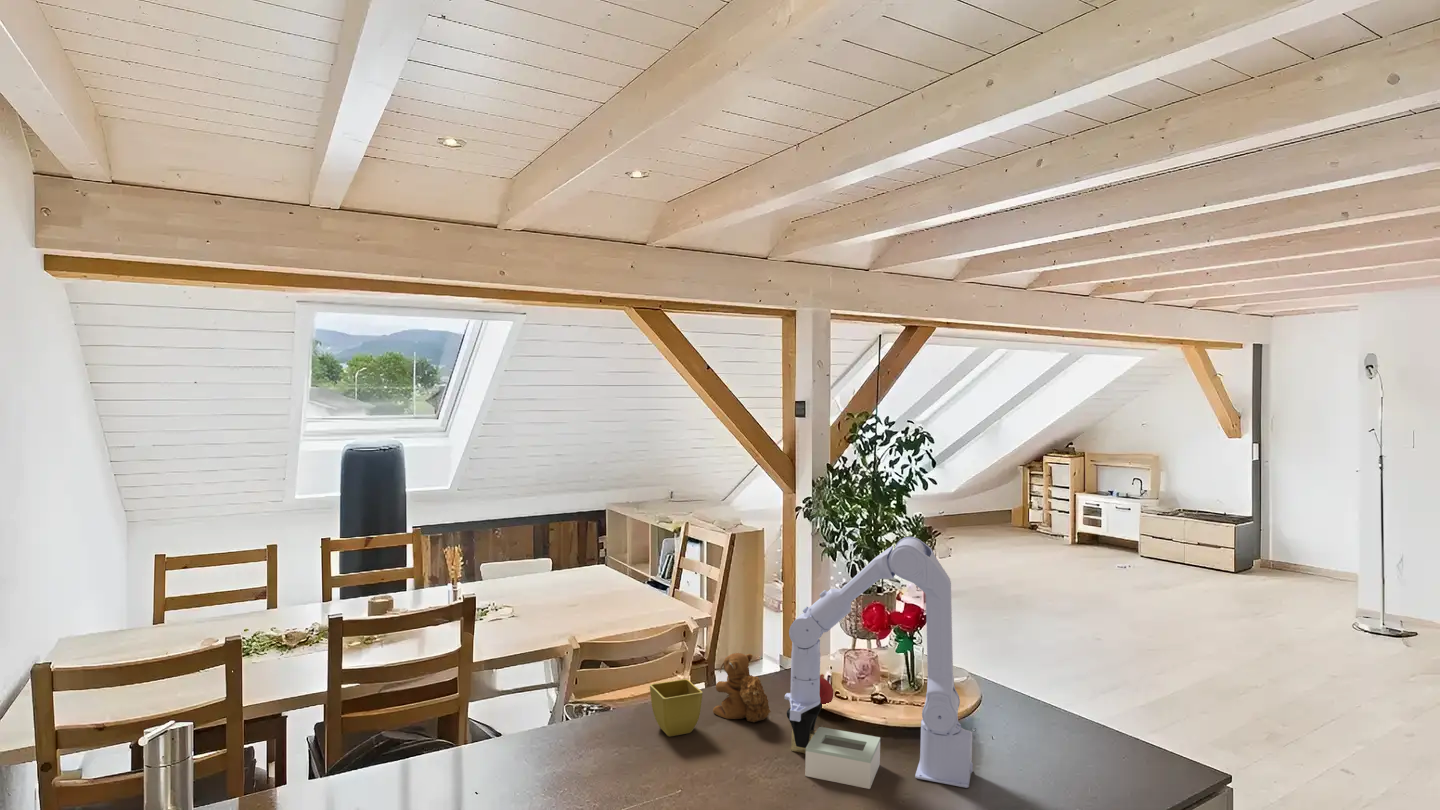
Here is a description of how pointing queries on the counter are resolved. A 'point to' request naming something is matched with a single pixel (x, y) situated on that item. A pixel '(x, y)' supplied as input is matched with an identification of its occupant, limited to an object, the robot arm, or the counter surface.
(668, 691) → the flower pot
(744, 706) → the stuffed squirrel
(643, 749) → the counter surface
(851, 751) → the box
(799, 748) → the tan rectangular block
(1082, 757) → the counter surface
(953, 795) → the counter surface
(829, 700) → the onion
